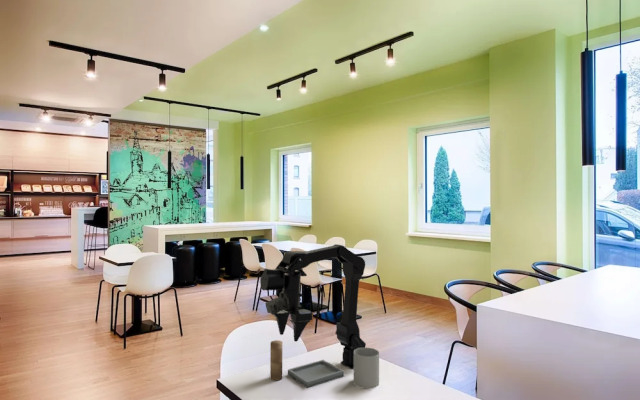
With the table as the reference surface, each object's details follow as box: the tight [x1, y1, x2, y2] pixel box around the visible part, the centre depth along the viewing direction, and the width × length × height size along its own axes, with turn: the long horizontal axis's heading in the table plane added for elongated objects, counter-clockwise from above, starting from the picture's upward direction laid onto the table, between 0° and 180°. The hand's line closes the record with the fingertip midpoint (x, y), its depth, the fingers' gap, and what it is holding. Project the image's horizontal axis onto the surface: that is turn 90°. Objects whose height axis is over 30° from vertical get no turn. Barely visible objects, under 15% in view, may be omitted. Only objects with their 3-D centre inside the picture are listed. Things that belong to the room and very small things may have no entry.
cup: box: [353, 347, 380, 389], centre depth 133 cm, size 8×8×10 cm
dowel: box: [269, 339, 283, 382], centre depth 135 cm, size 4×4×12 cm
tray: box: [287, 359, 345, 389], centre depth 138 cm, size 15×12×2 cm
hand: (288, 337), depth 132 cm, fingers open, 9 cm apart
